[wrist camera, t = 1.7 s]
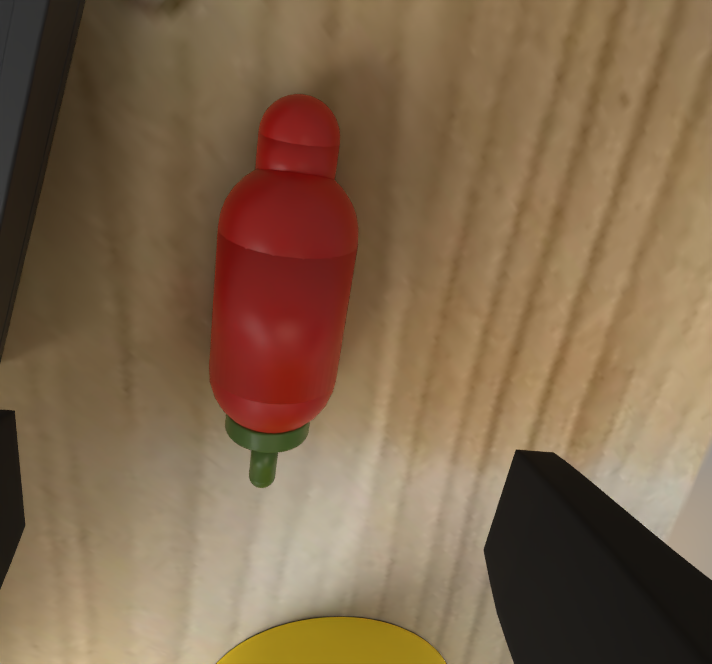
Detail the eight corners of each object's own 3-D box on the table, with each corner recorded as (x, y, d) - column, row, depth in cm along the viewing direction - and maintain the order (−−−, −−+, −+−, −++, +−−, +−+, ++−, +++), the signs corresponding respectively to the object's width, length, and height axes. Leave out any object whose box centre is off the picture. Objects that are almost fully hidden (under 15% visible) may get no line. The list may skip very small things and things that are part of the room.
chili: (317, 447, 19) (321, 521, 16) (209, 439, 19) (194, 514, 16) (371, 99, 15) (390, 118, 12) (233, 78, 14) (218, 91, 11)
